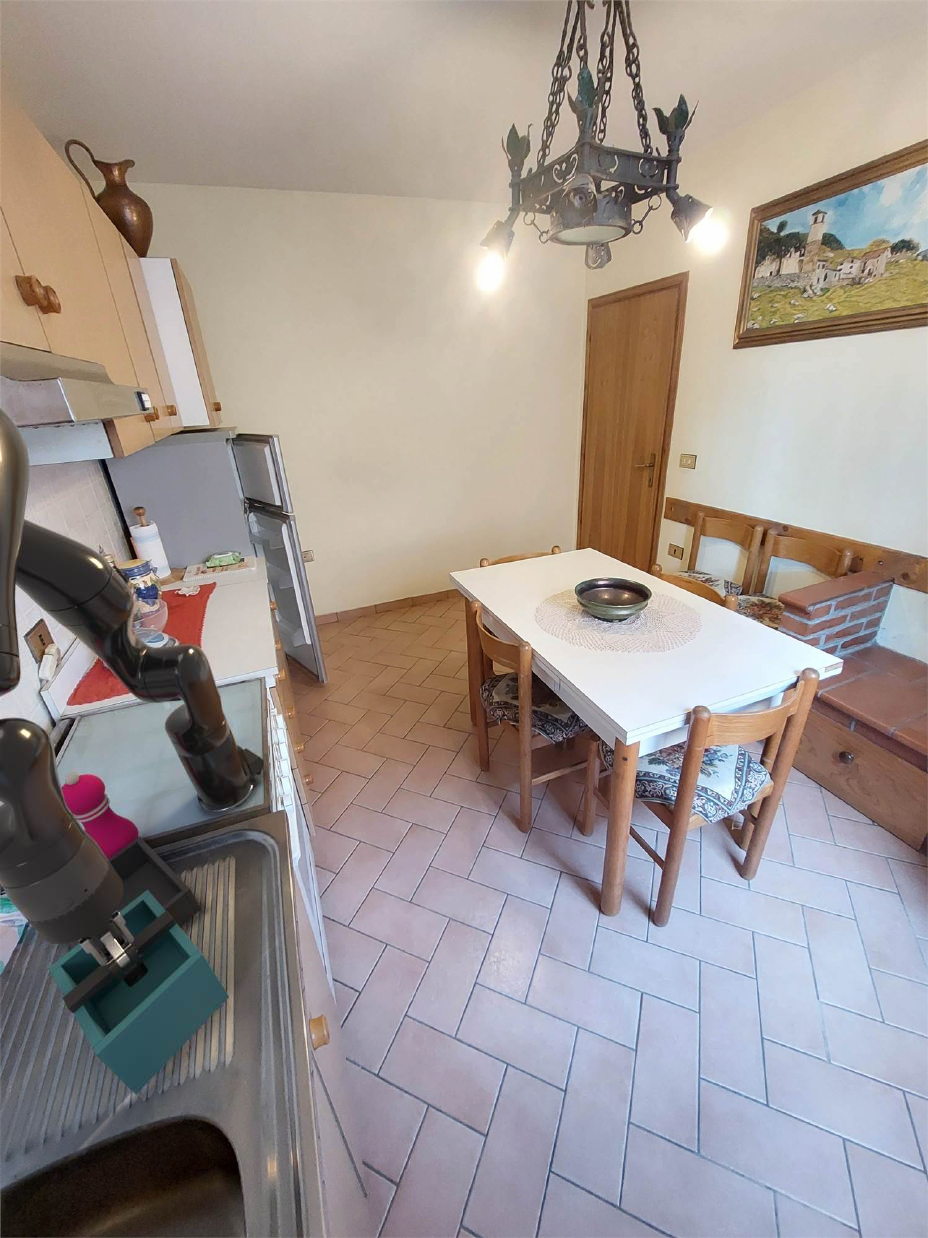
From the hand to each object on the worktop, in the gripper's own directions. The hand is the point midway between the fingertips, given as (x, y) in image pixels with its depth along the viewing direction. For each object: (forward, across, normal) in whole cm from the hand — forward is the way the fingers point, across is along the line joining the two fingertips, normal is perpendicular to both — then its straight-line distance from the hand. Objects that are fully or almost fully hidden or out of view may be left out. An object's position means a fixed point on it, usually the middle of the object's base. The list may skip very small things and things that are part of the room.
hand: (133, 971), depth 59 cm
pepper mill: (+10, +30, -7) cm, 32 cm away
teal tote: (+8, 0, 0) cm, 8 cm away
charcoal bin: (+10, +17, -3) cm, 20 cm away
